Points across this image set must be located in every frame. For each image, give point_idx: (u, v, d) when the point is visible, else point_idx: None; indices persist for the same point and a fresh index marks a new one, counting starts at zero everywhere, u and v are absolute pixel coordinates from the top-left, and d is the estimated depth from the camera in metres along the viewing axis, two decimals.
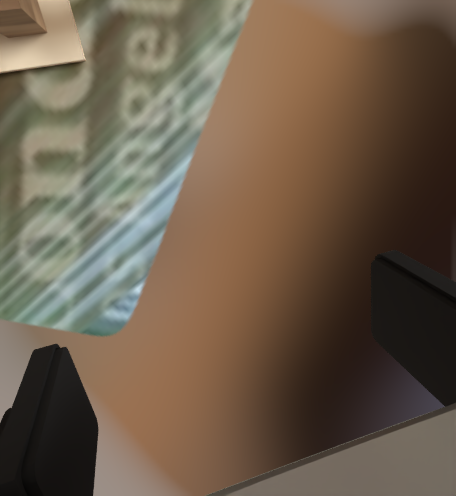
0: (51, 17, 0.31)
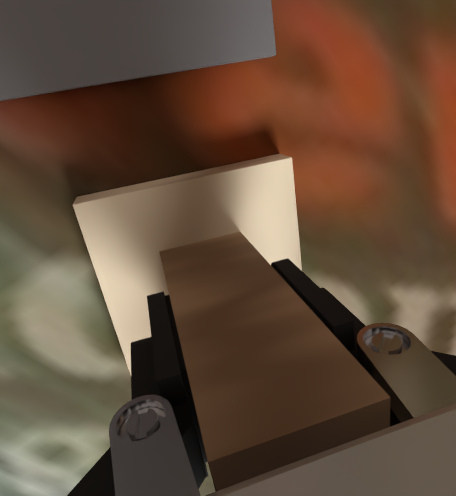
0: None
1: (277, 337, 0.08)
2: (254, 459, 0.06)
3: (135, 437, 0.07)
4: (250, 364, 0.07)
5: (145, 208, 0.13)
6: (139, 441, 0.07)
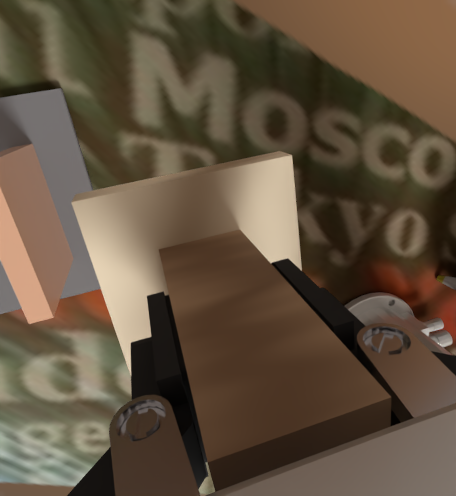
0: None
1: (278, 336, 0.08)
2: (254, 459, 0.06)
3: (135, 437, 0.07)
4: (250, 363, 0.07)
5: (144, 206, 0.13)
6: (139, 441, 0.07)
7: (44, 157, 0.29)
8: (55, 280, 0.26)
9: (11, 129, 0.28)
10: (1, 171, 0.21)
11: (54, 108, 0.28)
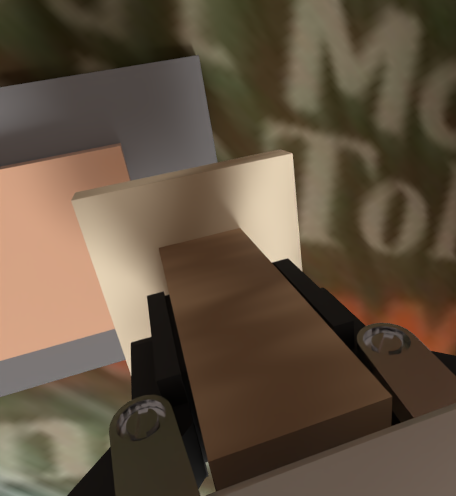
0: None
1: (278, 334, 0.08)
2: (255, 458, 0.06)
3: (135, 437, 0.07)
4: (250, 362, 0.07)
5: (144, 204, 0.13)
6: (139, 441, 0.07)
7: (167, 156, 0.21)
8: (38, 330, 0.20)
9: (127, 115, 0.19)
10: None
11: (187, 85, 0.19)
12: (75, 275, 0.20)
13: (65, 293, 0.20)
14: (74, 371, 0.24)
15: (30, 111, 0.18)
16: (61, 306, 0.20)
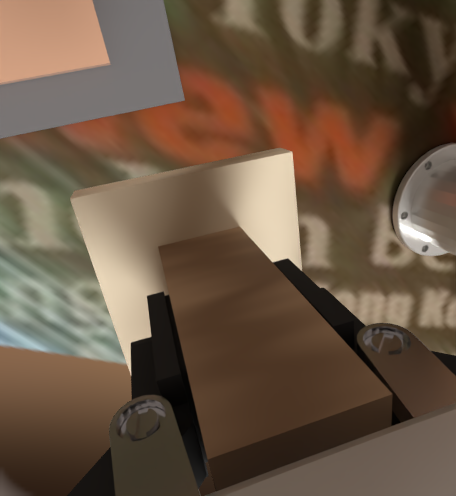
0: None
1: (278, 333, 0.08)
2: (254, 456, 0.06)
3: (135, 437, 0.07)
4: (250, 360, 0.07)
5: (144, 202, 0.13)
6: (139, 441, 0.07)
7: None
8: (1, 61, 0.25)
9: None
10: None
11: None
12: (29, 9, 0.24)
13: (22, 26, 0.25)
14: (37, 127, 0.28)
15: None
16: (19, 39, 0.25)
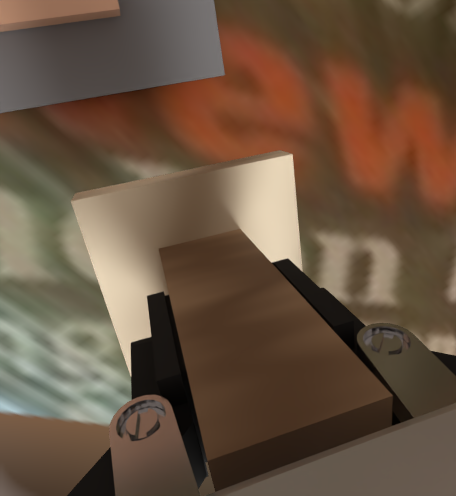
0: None
1: (278, 334, 0.08)
2: (254, 458, 0.06)
3: (135, 437, 0.07)
4: (250, 361, 0.07)
5: (144, 205, 0.13)
6: (139, 441, 0.07)
7: None
8: None
9: None
10: None
11: None
12: None
13: None
14: (9, 105, 0.19)
15: None
16: None
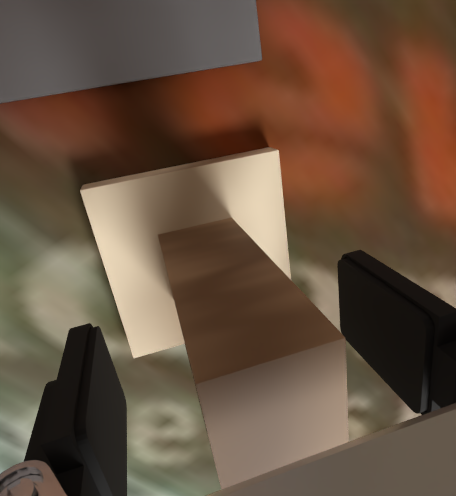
0: None
1: (258, 298, 0.10)
2: (233, 384, 0.07)
3: None
4: (234, 317, 0.09)
5: (145, 194, 0.14)
6: None
7: None
8: None
9: None
10: None
11: None
12: None
13: None
14: None
15: None
16: None
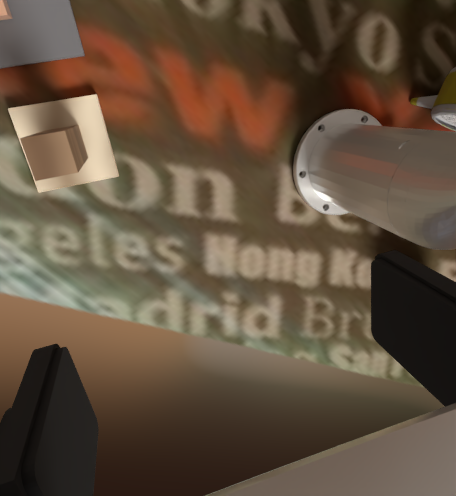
0: None
1: (54, 131, 0.30)
2: (31, 140, 0.27)
3: None
4: (42, 133, 0.29)
5: (36, 111, 0.34)
6: None
7: None
8: None
9: None
10: None
11: None
12: None
13: None
14: None
15: None
16: None
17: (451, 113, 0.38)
